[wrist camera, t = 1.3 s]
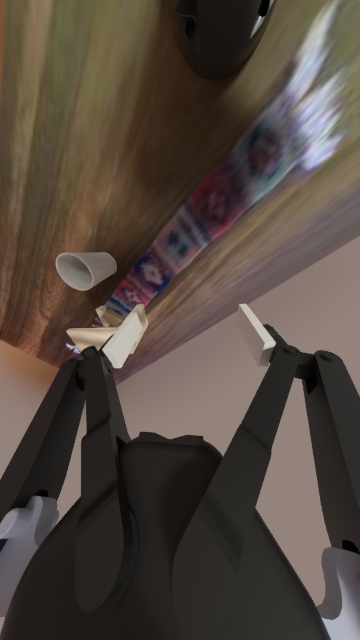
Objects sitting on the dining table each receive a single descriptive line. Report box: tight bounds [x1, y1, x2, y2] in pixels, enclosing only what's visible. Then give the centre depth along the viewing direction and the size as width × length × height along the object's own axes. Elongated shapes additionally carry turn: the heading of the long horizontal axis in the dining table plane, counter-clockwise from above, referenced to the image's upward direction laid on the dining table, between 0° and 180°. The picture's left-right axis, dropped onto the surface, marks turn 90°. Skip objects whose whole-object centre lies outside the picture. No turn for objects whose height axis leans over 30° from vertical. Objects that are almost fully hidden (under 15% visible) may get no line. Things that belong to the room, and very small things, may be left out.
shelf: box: [66, 304, 148, 354], centre depth 41 cm, size 8×16×15 cm, turn 95°
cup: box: [56, 252, 117, 291], centre depth 33 cm, size 8×8×12 cm
